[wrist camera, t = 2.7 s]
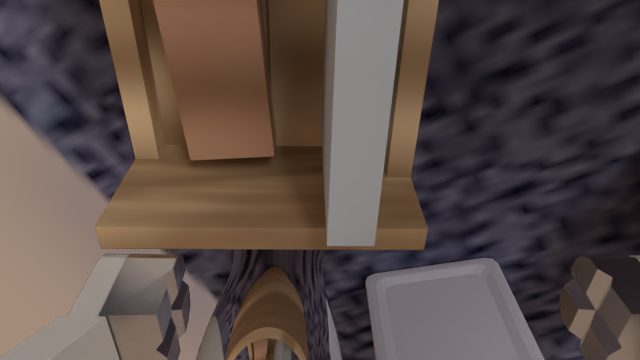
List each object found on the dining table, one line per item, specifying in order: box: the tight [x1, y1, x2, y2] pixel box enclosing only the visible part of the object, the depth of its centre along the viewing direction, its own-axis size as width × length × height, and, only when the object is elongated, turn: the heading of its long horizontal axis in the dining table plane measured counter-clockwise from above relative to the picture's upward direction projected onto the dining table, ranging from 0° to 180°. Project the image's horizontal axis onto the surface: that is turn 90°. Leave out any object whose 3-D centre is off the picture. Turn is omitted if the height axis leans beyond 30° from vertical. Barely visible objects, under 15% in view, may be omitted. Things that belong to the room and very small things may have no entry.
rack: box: [95, 0, 439, 250], centre depth 20 cm, size 14×14×8 cm
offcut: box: [153, 0, 276, 160], centre depth 20 cm, size 8×4×2 cm, turn 3°
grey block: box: [321, 0, 404, 246], centre depth 18 cm, size 10×2×9 cm, turn 179°
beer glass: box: [196, 249, 342, 360], centre depth 24 cm, size 7×7×15 cm
